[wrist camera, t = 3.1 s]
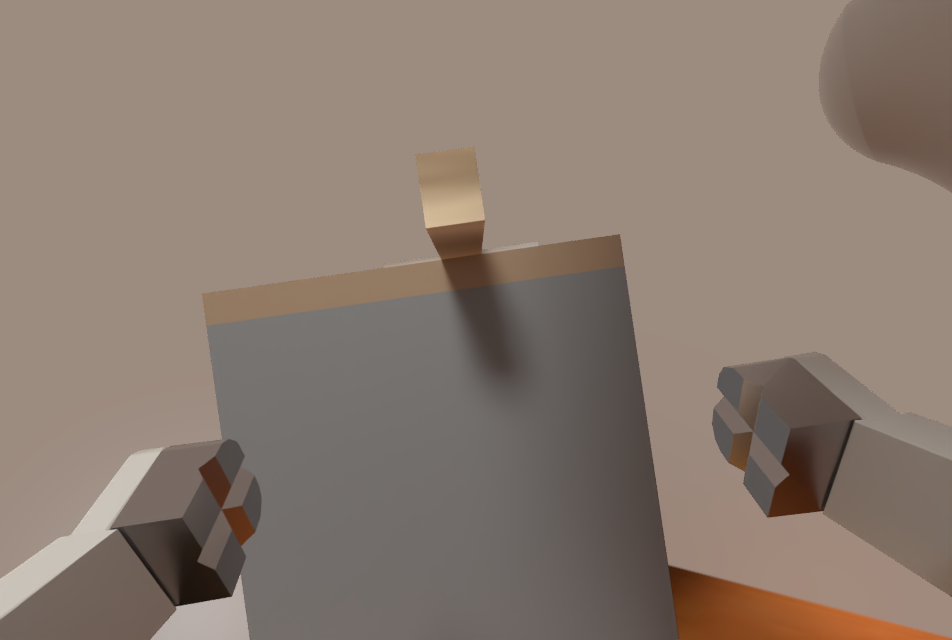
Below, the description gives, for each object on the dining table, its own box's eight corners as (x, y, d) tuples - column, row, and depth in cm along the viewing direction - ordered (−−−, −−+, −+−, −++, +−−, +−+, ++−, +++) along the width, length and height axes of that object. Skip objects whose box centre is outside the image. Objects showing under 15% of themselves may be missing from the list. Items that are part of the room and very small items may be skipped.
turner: (587, 205, 17) (577, 131, 17) (322, 242, 16) (312, 169, 16) (522, 273, 39) (517, 241, 39) (408, 289, 38) (404, 258, 38)
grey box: (607, 583, 40) (561, 269, 41) (695, 753, 24) (619, 234, 25) (353, 620, 40) (309, 306, 40) (274, 816, 24) (202, 293, 24)
